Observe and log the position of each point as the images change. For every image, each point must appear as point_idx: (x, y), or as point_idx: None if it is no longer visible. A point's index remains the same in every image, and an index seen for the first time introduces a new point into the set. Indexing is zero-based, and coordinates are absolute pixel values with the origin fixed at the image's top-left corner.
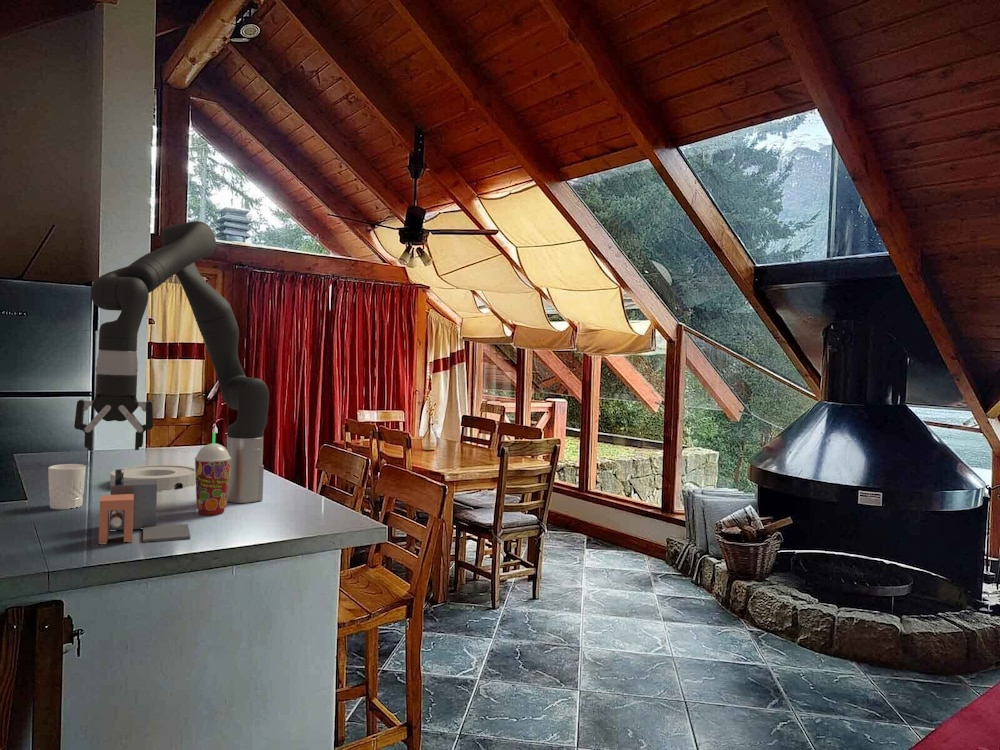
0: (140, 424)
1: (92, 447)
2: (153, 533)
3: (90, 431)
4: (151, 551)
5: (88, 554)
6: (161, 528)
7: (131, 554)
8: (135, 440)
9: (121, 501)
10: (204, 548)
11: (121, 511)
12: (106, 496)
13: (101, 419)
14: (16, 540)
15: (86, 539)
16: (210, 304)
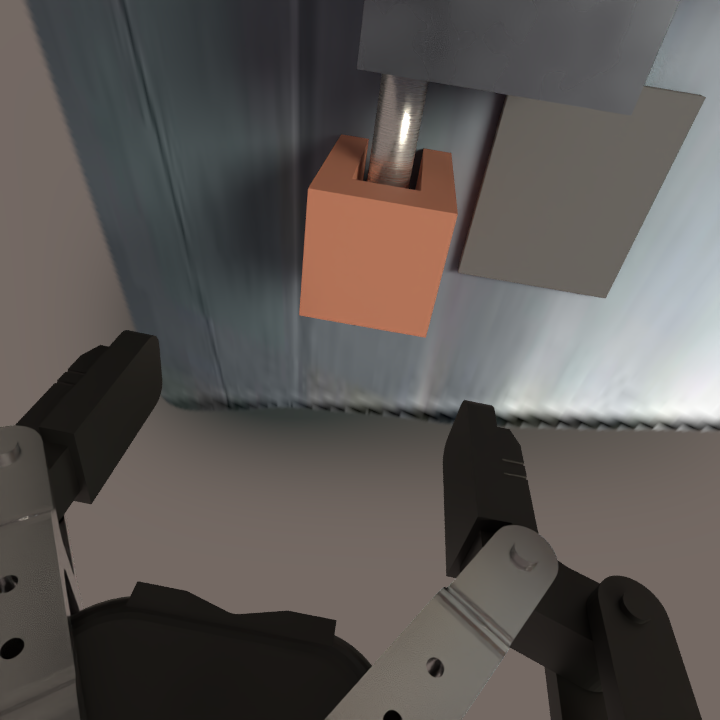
0: (522, 615)
1: (150, 370)
2: (514, 206)
3: (63, 499)
4: (454, 363)
5: (302, 318)
6: (570, 137)
7: (402, 365)
8: (445, 514)
9: (380, 327)
10: (585, 397)
11: (409, 157)
12: (328, 225)
13: (60, 560)
14: (59, 30)
15: (295, 137)
16: None
